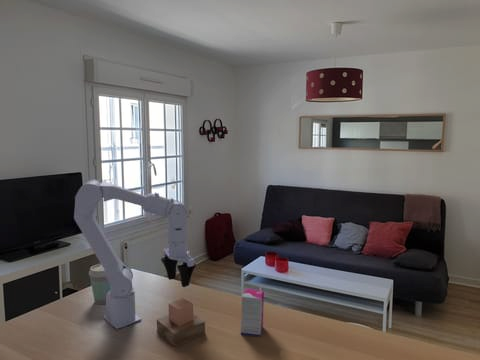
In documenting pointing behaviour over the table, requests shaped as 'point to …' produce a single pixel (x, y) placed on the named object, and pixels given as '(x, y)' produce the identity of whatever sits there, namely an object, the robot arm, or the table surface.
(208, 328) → the table surface
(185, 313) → the terracotta cube
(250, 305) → the supplement box
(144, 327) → the table surface
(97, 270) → the coffee cup
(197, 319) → the walnut block
